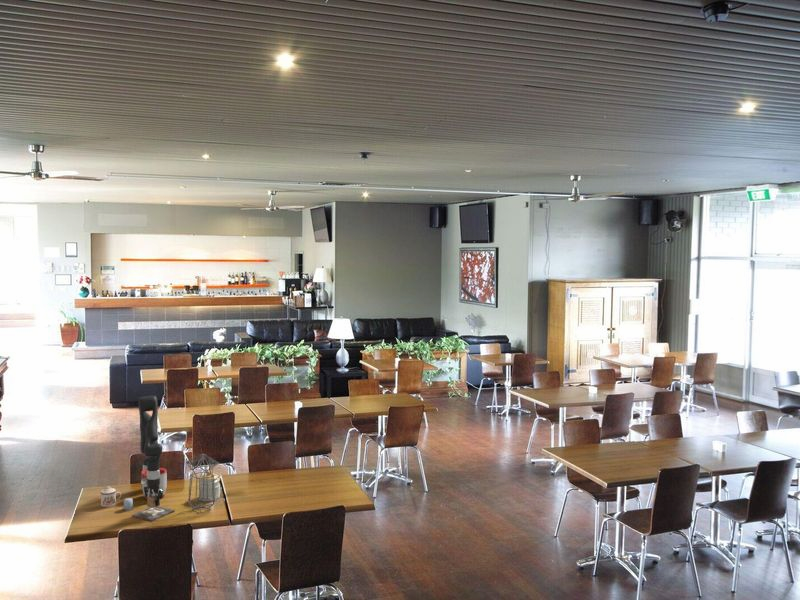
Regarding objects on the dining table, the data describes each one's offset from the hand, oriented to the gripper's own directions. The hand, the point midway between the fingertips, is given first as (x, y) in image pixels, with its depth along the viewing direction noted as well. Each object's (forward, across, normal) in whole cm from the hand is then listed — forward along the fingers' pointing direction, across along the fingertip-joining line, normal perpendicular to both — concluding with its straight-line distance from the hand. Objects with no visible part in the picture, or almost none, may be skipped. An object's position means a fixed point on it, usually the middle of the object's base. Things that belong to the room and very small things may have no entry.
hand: (153, 504), depth 439 cm
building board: (+6, 0, 0) cm, 6 cm away
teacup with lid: (+6, +34, +2) cm, 35 cm away
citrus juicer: (+6, +21, -20) cm, 30 cm away
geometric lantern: (+6, -20, -20) cm, 29 cm away
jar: (+6, -10, -37) cm, 39 cm away
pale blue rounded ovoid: (+6, +19, +2) cm, 20 cm away
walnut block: (+1, 0, 0) cm, 1 cm away
